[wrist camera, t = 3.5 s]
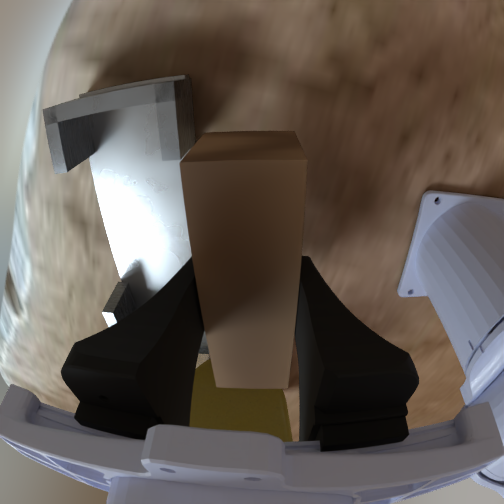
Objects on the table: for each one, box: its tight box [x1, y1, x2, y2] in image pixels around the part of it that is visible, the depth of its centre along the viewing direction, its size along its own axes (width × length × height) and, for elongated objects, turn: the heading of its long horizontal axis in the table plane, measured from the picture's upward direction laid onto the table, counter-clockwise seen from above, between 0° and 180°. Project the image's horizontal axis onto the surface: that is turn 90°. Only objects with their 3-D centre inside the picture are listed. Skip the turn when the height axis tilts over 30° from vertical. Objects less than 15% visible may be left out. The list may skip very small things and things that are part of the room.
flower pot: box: [189, 359, 293, 442], centre depth 23 cm, size 9×9×9 cm
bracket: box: [43, 75, 209, 354], centre depth 16 cm, size 7×16×4 cm, turn 1°
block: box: [179, 131, 307, 389], centre depth 13 cm, size 4×11×4 cm, turn 1°
